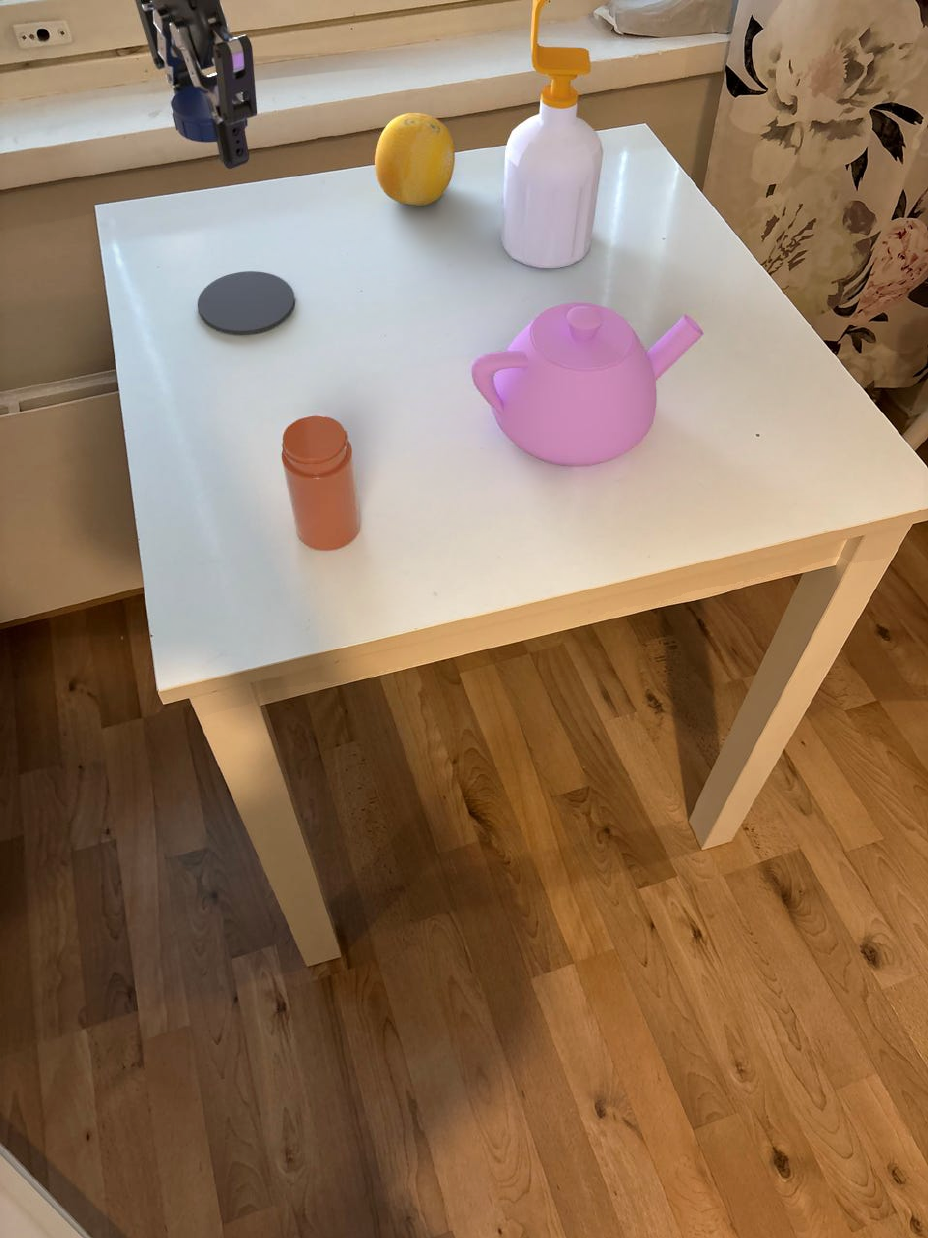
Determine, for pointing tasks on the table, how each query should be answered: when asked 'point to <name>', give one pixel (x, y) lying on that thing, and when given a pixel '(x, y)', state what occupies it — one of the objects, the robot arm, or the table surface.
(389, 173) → the fruit
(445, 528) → the table surface
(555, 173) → the soap bottle
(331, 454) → the jar
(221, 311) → the coaster
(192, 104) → the lid
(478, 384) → the teapot
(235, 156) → the robot arm
